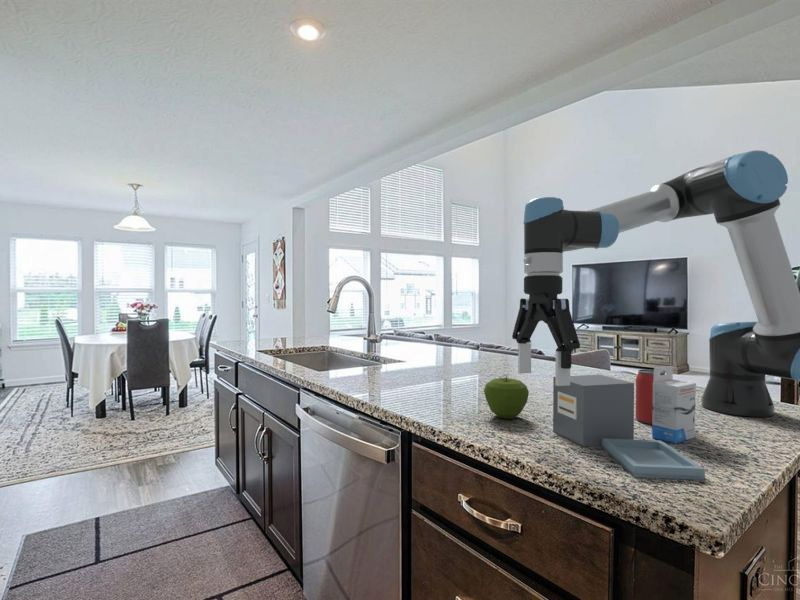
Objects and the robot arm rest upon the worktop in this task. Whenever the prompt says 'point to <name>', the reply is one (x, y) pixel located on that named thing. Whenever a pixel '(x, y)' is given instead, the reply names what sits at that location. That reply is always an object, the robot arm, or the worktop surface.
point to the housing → (593, 409)
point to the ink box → (672, 407)
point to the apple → (506, 397)
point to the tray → (652, 459)
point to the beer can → (644, 395)
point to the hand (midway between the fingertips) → (542, 378)
